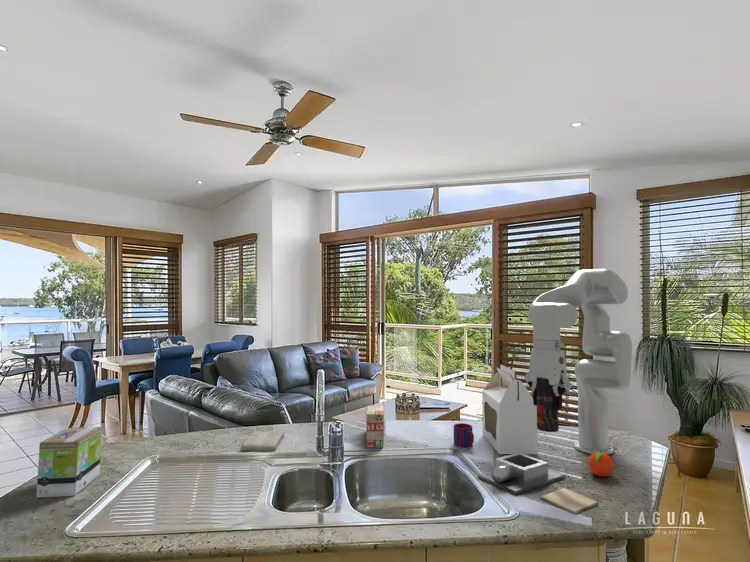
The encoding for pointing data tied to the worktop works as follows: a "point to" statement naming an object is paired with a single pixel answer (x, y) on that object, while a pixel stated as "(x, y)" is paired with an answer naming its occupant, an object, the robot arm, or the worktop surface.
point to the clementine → (600, 464)
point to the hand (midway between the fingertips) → (547, 406)
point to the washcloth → (263, 441)
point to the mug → (463, 435)
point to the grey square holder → (520, 473)
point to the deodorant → (546, 407)
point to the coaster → (569, 500)
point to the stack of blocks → (375, 427)
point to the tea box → (69, 461)
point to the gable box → (509, 414)
